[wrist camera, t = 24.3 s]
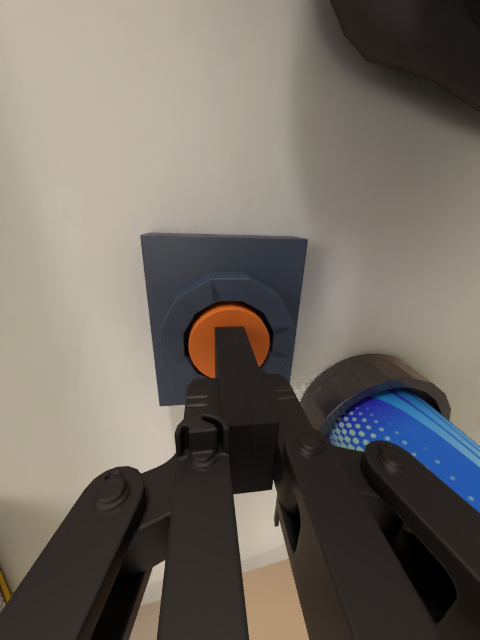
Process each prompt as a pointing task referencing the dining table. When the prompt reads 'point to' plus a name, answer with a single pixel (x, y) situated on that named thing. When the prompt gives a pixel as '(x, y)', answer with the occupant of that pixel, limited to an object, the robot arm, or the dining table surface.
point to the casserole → (419, 39)
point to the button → (225, 317)
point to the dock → (364, 388)
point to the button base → (219, 296)
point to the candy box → (3, 593)
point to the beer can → (413, 437)
